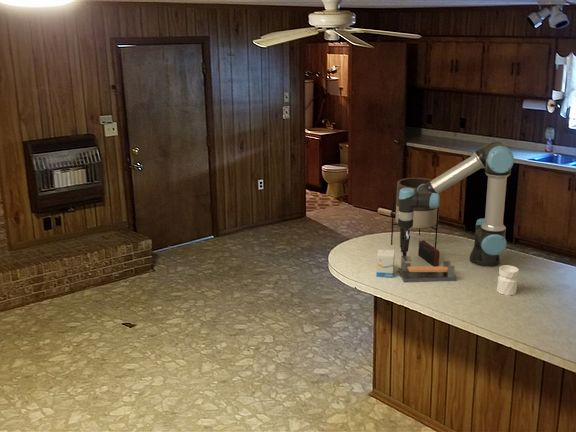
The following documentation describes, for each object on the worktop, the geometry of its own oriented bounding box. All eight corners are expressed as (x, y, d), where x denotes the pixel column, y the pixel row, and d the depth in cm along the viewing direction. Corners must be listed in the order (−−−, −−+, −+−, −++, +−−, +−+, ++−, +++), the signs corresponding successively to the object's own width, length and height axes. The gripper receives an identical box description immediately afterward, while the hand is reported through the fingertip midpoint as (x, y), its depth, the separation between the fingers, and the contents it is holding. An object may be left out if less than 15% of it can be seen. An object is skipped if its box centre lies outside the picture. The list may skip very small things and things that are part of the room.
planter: (449, 242, 363) (454, 182, 352) (425, 255, 346) (429, 192, 335) (410, 232, 380) (413, 174, 369) (386, 243, 363) (388, 183, 352)
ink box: (393, 278, 318) (394, 256, 314) (376, 276, 320) (376, 255, 316) (394, 271, 326) (394, 249, 322) (377, 270, 328) (378, 248, 324)
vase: (494, 288, 306) (496, 265, 302) (512, 288, 305) (515, 265, 301) (499, 296, 297) (502, 272, 293) (518, 296, 297) (521, 272, 293)
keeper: (409, 267, 325) (410, 255, 323) (412, 273, 318) (413, 261, 316) (400, 268, 325) (401, 256, 323) (403, 273, 318) (404, 261, 316)
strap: (448, 268, 319) (448, 266, 318) (451, 272, 314) (451, 269, 314) (407, 268, 318) (407, 265, 317) (409, 272, 313) (409, 269, 313)
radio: (417, 255, 345) (419, 229, 341) (422, 255, 346) (424, 228, 342) (435, 268, 329) (437, 241, 324) (440, 268, 330) (442, 240, 325)
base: (448, 270, 326) (449, 256, 324) (456, 280, 314) (457, 266, 312) (398, 271, 325) (398, 258, 323) (403, 282, 313) (404, 268, 310)
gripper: (395, 214, 326) (393, 257, 334) (400, 223, 314) (398, 267, 322) (410, 214, 327) (407, 257, 334) (416, 222, 314) (413, 267, 322)
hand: (403, 262), depth 328 cm, fingers closed
